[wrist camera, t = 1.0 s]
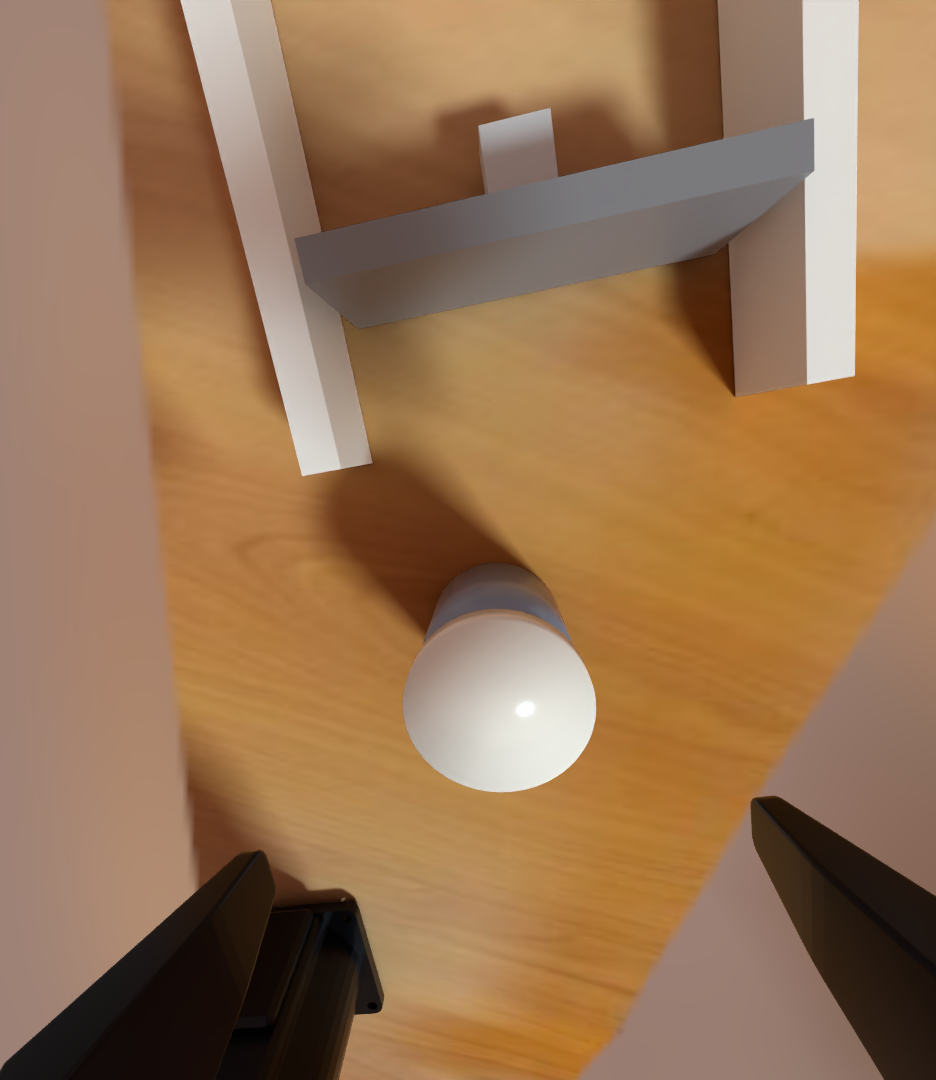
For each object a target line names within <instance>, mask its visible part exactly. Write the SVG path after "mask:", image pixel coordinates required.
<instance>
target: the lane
mask: <svg viewBox="0 0 936 1080" xmlns="http://www.w3.org/2000/svg"><path fill="white" fill-rule="evenodd" d="M181 4H182V8H183V12H184V16H185V20H186V24H187V28H188V32H189V35H190V39H191V43H192V47H193V51H194V55H195V59H196V63H197V67H198V71H199V75H200V78H201V82H202V86H203V90H204V94H205V98H206V102H207V106H208V110H209V114H210V117H211V121H212V125H213V129H214V133H215V137H216V141H217V145H218V149H219V153H220V157H221V160H222V164H223V168H224V172H225V176H226V180H227V184H228V188H229V192H230V196H231V199H232V203H233V207H234V211H235V215H236V219H237V223H238V227H239V231H240V235H241V239H242V242H243V246H244V250H245V254H246V258H247V262H248V266H249V270H250V274H251V278H252V281H253V285H254V289H255V293H256V297H257V301H258V305H259V309H260V313H261V317H262V320H263V324H264V328H265V332H266V336H267V340H268V344H269V348H270V352H271V356H272V360H273V363H274V367H275V371H276V375H277V379H278V383H279V387H280V391H281V395H282V399H283V402H284V406H285V410H286V414H287V418H288V422H289V426H290V430H291V434H292V438H293V442H294V445H295V449H296V453H297V457H298V461H299V465H300V469H301V473H302V476H306V475H311V474H317V473H322V472H328V471H333V470H339V469H344V468H349V467H355V466H360V465H365V464H371V463H373V462H372V458H371V453H370V449H369V444H368V440H367V435H366V431H365V426H364V422H363V417H362V413H361V408H360V403H359V399H358V394H357V390H356V385H355V381H354V376H353V372H352V367H351V363H350V358H349V354H348V349H347V345H346V340H345V336H344V331H343V326H342V322H341V317H340V313H339V312H337V311H336V310H335V309H334V308H333V307H332V306H330V305H329V304H328V303H327V302H326V301H324V300H323V299H322V298H321V297H320V296H319V295H317V294H316V293H315V292H314V291H313V290H311V289H310V288H309V287H308V286H307V285H306V284H305V282H304V278H303V274H302V270H301V265H300V261H299V257H298V252H297V248H296V244H295V240H294V238H299V237H303V236H307V235H312V234H316V233H320V232H322V231H321V227H320V222H319V218H318V213H317V209H316V204H315V200H314V195H313V191H312V186H311V182H310V177H309V173H308V168H307V163H306V159H305V154H304V150H303V145H302V141H301V136H300V132H299V127H298V123H297V118H296V114H295V109H294V105H293V100H292V96H291V91H290V86H289V82H288V77H287V73H286V68H285V64H284V59H283V55H282V50H281V46H280V41H279V37H278V32H277V28H276V23H275V19H274V14H273V9H272V5H271V0H181ZM858 5H859V0H718V20H719V42H720V65H721V87H722V109H723V131H724V139H725V138H729V137H734V136H738V135H742V134H747V133H751V132H755V131H760V130H764V129H768V128H773V127H777V126H781V125H785V124H790V123H794V122H798V121H803V120H807V119H811V118H814V172H812V173H811V174H810V175H809V176H808V177H806V178H805V179H804V180H803V181H802V182H800V183H799V184H798V185H797V186H796V187H794V188H793V189H792V190H791V191H790V192H788V193H787V194H786V195H785V196H784V197H782V198H781V199H780V200H779V201H778V202H776V203H775V204H774V205H773V206H772V207H770V208H769V209H768V210H767V211H766V212H764V213H763V214H762V215H761V216H760V217H758V218H757V219H756V220H755V221H754V222H753V223H751V224H750V225H749V226H748V227H747V228H745V229H744V230H743V231H742V232H741V233H739V234H738V235H737V236H736V237H735V238H733V239H732V240H731V241H730V242H729V263H730V285H731V308H732V330H733V352H734V374H735V396H736V397H740V396H745V395H751V394H756V393H762V392H768V391H773V390H779V389H784V388H790V387H795V386H801V385H807V384H812V383H818V382H823V381H829V380H834V379H840V378H845V377H851V376H855V303H856V204H857V104H858Z"/></svg>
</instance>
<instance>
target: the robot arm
mask: <svg viewBox="0 0 936 1080" xmlns="http://www.w3.org/2000/svg"><path fill="white" fill-rule="evenodd" d="M751 824H752V838H753V842H754V846H755V848H756V851H757V853H758V855H759V857H760V859H761V861H762V863H763V865H764V867H765V869H766V871H767V873H768V875H769V877H770V879H771V881H772V883H773V885H774V887H775V889H776V891H777V893H778V895H779V896H780V899H781V901H782V902H783V904H784V906H785V908H786V910H787V912H788V914H789V916H790V918H791V920H792V922H793V924H794V926H795V928H796V930H797V932H798V934H799V936H800V938H801V940H802V942H803V944H804V946H805V947H806V950H807V952H808V953H809V955H810V957H811V959H812V961H813V963H814V964H815V966H816V968H817V970H818V971H819V973H820V975H821V976H822V978H823V980H824V982H825V983H826V985H827V986H828V988H829V990H830V991H831V993H832V995H833V996H834V998H835V1000H836V1001H837V1003H838V1005H839V1006H840V1008H841V1009H842V1011H843V1013H844V1014H845V1016H846V1018H847V1019H848V1021H849V1023H850V1024H851V1026H852V1028H853V1029H854V1031H855V1032H856V1034H857V1036H858V1037H859V1039H860V1040H861V1042H862V1044H863V1046H864V1047H865V1049H866V1050H867V1052H868V1054H869V1055H870V1057H871V1059H872V1060H873V1062H874V1064H875V1065H876V1067H877V1069H878V1070H879V1072H880V1074H881V1075H882V1077H883V1078H884V1080H936V896H935V895H933V894H931V893H930V892H928V891H926V890H925V889H924V888H922V887H920V886H919V885H917V884H916V883H914V882H913V881H911V880H909V879H908V878H906V877H905V876H903V875H902V874H900V873H898V872H897V871H895V870H893V869H892V868H890V867H889V866H887V865H886V864H884V863H883V862H881V861H880V860H878V859H876V858H875V857H873V856H872V855H870V854H869V853H867V852H865V851H864V850H862V849H860V848H859V847H857V846H855V845H854V844H852V843H851V842H850V841H848V840H846V839H845V838H843V837H842V836H840V835H838V834H837V833H835V832H834V831H832V830H831V829H829V828H827V827H826V826H824V825H823V824H821V823H820V822H818V821H816V820H815V819H813V818H812V817H810V816H808V815H807V814H805V813H804V812H802V811H801V810H799V809H798V808H796V807H794V806H793V805H791V804H790V803H788V802H787V801H785V800H783V799H782V798H779V797H777V796H765V797H756V798H753V799H752V801H751ZM274 897H275V881H274V878H273V875H272V872H271V869H270V866H269V863H268V860H267V857H266V854H265V853H264V852H263V851H262V850H253V851H244V852H241V853H240V854H238V855H237V856H236V857H235V858H233V859H232V860H231V861H230V862H229V863H228V864H227V865H226V866H224V867H223V868H222V869H221V870H220V871H219V872H218V873H217V874H216V875H214V876H213V877H212V878H211V879H210V880H209V881H208V882H207V883H205V884H204V885H203V886H202V887H201V888H200V889H199V890H198V891H196V892H195V893H194V894H193V895H192V896H191V897H190V898H189V899H188V900H186V901H185V902H184V903H183V904H182V905H181V906H180V907H179V908H177V909H176V910H175V911H174V912H173V913H172V914H171V915H170V916H169V917H168V918H166V919H165V920H164V921H163V922H162V923H161V924H160V925H159V926H157V927H156V928H155V929H154V930H153V931H152V932H151V933H150V934H148V935H147V936H146V937H145V938H144V939H143V940H142V941H141V942H140V943H138V944H137V945H136V946H135V947H134V948H133V949H132V950H130V951H129V952H128V953H127V954H126V955H125V956H124V957H123V958H122V959H120V960H119V961H118V962H117V963H116V964H115V965H114V966H113V967H111V968H110V969H109V970H108V971H107V972H106V973H105V974H104V975H103V976H102V977H101V978H99V979H98V980H97V981H96V982H95V983H94V984H92V985H91V986H90V987H89V988H88V989H87V990H86V991H85V992H83V993H82V994H81V995H80V996H79V997H78V998H77V999H76V1000H75V1001H73V1002H72V1003H71V1004H70V1005H69V1006H68V1007H67V1008H66V1009H64V1010H63V1011H62V1012H61V1013H60V1014H59V1015H58V1016H57V1017H56V1018H54V1019H53V1020H52V1021H51V1022H50V1023H49V1024H48V1025H47V1026H45V1028H43V1029H42V1030H41V1031H40V1032H39V1033H38V1034H36V1036H34V1037H33V1038H32V1039H31V1040H30V1041H29V1042H27V1044H25V1045H24V1046H23V1047H22V1048H21V1049H20V1050H19V1051H17V1052H16V1053H15V1054H14V1055H13V1056H12V1057H11V1058H10V1059H9V1060H7V1061H6V1062H5V1063H4V1065H3V1066H2V1068H1V1070H0V1080H339V1077H340V1072H341V1068H342V1064H343V1060H344V1056H345V1051H346V1047H347V1043H348V1039H349V1035H350V1030H351V1026H352V1022H353V1018H354V1015H357V1014H372V1013H378V1012H380V1011H381V1009H382V1006H383V1001H384V994H383V990H382V987H381V983H380V980H379V976H378V973H377V969H376V966H375V962H374V959H373V956H372V952H371V949H370V945H369V942H368V938H367V935H366V931H365V928H364V924H363V921H362V918H361V914H360V911H359V908H358V906H357V905H356V904H355V903H352V902H336V903H325V904H314V905H303V906H292V907H281V908H272V905H273V901H274Z"/></svg>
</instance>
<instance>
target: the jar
mask: <svg viewBox="0 0 936 1080" xmlns="http://www.w3.org/2000/svg"><path fill="white" fill-rule="evenodd" d="M403 715H404V721H405V725H406V728H407V731H408V734H409V736H410V738H411V740H412V742H413V744H414V746H415V747H416V749H417V750H418V752H419V753H420V754H421V756H422V757H423V758H424V759H425V760H426V761H427V762H428V763H429V764H430V765H431V766H432V767H433V768H434V769H435V770H437V771H438V772H440V773H441V774H442V775H444V776H445V777H447V778H449V779H451V780H453V781H454V782H457V783H459V784H462V785H464V786H467V787H470V788H474V789H477V790H483V791H490V792H513V791H519V790H525V789H529V788H532V787H536V786H538V785H541V784H543V783H546V782H548V781H550V780H551V779H553V778H555V777H557V776H558V775H560V774H561V773H562V772H564V771H565V770H566V769H567V768H569V767H570V766H571V765H572V764H573V763H574V762H575V761H576V759H577V758H578V757H579V756H580V754H581V753H582V752H583V750H584V748H585V747H586V745H587V743H588V741H589V739H590V736H591V734H592V731H593V727H594V723H595V716H596V698H595V693H594V688H593V685H592V682H591V679H590V677H589V674H588V672H587V669H586V667H585V665H584V662H583V660H582V658H581V656H580V654H579V653H578V651H577V649H576V648H575V647H574V645H573V644H572V642H571V639H570V637H569V634H568V631H567V629H566V626H565V624H564V621H563V619H562V616H561V614H560V611H559V609H558V606H557V604H556V601H555V599H554V597H553V595H552V593H551V591H550V590H549V589H548V587H547V586H546V585H545V584H544V583H543V582H542V581H541V579H539V578H538V577H537V576H536V575H534V574H533V573H531V572H529V571H528V570H526V569H523V568H521V567H519V566H515V565H512V564H507V563H485V564H481V565H477V566H474V567H471V568H469V569H467V570H465V571H463V572H461V573H460V574H459V575H457V576H456V577H455V578H453V579H452V580H451V581H450V582H449V583H448V585H447V586H446V587H445V588H444V590H443V591H442V593H441V595H440V597H439V599H438V601H437V604H436V607H435V610H434V613H433V616H432V619H431V622H430V625H429V628H428V631H427V633H426V636H425V639H424V642H423V645H422V647H421V648H420V650H419V651H418V653H417V655H416V657H415V659H414V661H413V664H412V667H411V669H410V672H409V675H408V678H407V681H406V685H405V688H404V695H403Z"/></svg>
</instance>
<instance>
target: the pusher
mask: <svg viewBox="0 0 936 1080" xmlns="http://www.w3.org/2000/svg"><path fill="white" fill-rule="evenodd" d="M478 132H479V158H480V164H481V171H482V178H483V185H484V191H485V194H484V195H480V196H475V197H471V198H467V199H462V200H458V201H454V202H450V203H445V204H441V205H437V206H432V207H428V208H424V209H419V210H415V211H411V212H406V213H402V214H398V215H394V216H389V217H385V218H381V219H376V220H372V221H368V222H363V223H359V224H355V225H350V226H346V227H342V228H338V229H333V230H329V231H325V232H320V233H316V234H312V235H307V236H303V237H299V238H294V240H295V244H296V248H297V252H298V257H299V261H300V265H301V270H302V274H303V278H304V282H305V284H306V285H307V286H308V287H309V288H310V289H311V290H313V291H314V292H315V293H316V294H317V295H319V296H320V297H321V298H322V299H323V300H324V301H326V302H327V303H328V304H329V305H330V306H332V307H333V308H334V309H335V310H336V311H337V312H339V313H340V314H341V315H342V316H343V317H345V318H346V319H347V320H348V321H349V322H350V323H352V324H353V325H354V326H355V327H356V328H358V329H361V328H366V327H370V326H375V325H380V324H385V323H389V322H394V321H399V320H404V319H409V318H413V317H418V316H423V315H428V314H432V313H437V312H442V311H447V310H451V309H456V308H461V307H466V306H470V305H475V304H480V303H485V302H489V301H494V300H499V299H504V298H508V297H513V296H518V295H523V294H527V293H532V292H537V291H542V290H546V289H551V288H556V287H561V286H566V285H570V284H575V283H580V282H585V281H589V280H594V279H599V278H604V277H608V276H613V275H618V274H623V273H627V272H632V271H637V270H642V269H646V268H651V267H656V266H661V265H665V264H670V263H675V262H680V261H684V260H689V259H694V258H699V257H703V256H708V255H713V254H715V253H717V252H718V251H719V250H720V249H721V248H723V247H724V246H725V245H726V244H727V243H729V242H730V241H731V240H732V239H733V238H735V237H736V236H737V235H738V234H739V233H741V232H742V231H743V230H744V229H745V228H747V227H748V226H749V225H750V224H751V223H753V222H754V221H755V220H756V219H757V218H758V217H760V216H761V215H762V214H763V213H764V212H766V211H767V210H768V209H769V208H770V207H772V206H773V205H774V204H775V203H776V202H778V201H779V200H780V199H781V198H782V197H784V196H785V195H786V194H787V193H788V192H790V191H791V190H792V189H793V188H794V187H796V186H797V185H798V184H799V183H800V182H802V181H803V180H804V179H805V178H806V177H808V176H809V175H810V174H811V173H812V172H814V118H811V119H807V120H803V121H798V122H794V123H790V124H785V125H781V126H777V127H773V128H768V129H764V130H760V131H755V132H751V133H747V134H742V135H738V136H734V137H729V138H725V139H721V140H717V141H712V142H708V143H704V144H699V145H695V146H691V147H686V148H682V149H678V150H673V151H669V152H665V153H661V154H656V155H652V156H648V157H643V158H639V159H635V160H630V161H626V162H622V163H617V164H613V165H609V166H605V167H600V168H596V169H592V170H587V171H583V172H579V173H574V174H570V175H566V176H562V177H558V170H557V161H556V152H555V144H554V135H553V126H552V118H551V109H550V108H547V109H543V110H539V111H535V112H531V113H527V114H523V115H519V116H515V117H511V118H507V119H503V120H499V121H495V122H491V123H487V124H483V125H478Z"/></svg>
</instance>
